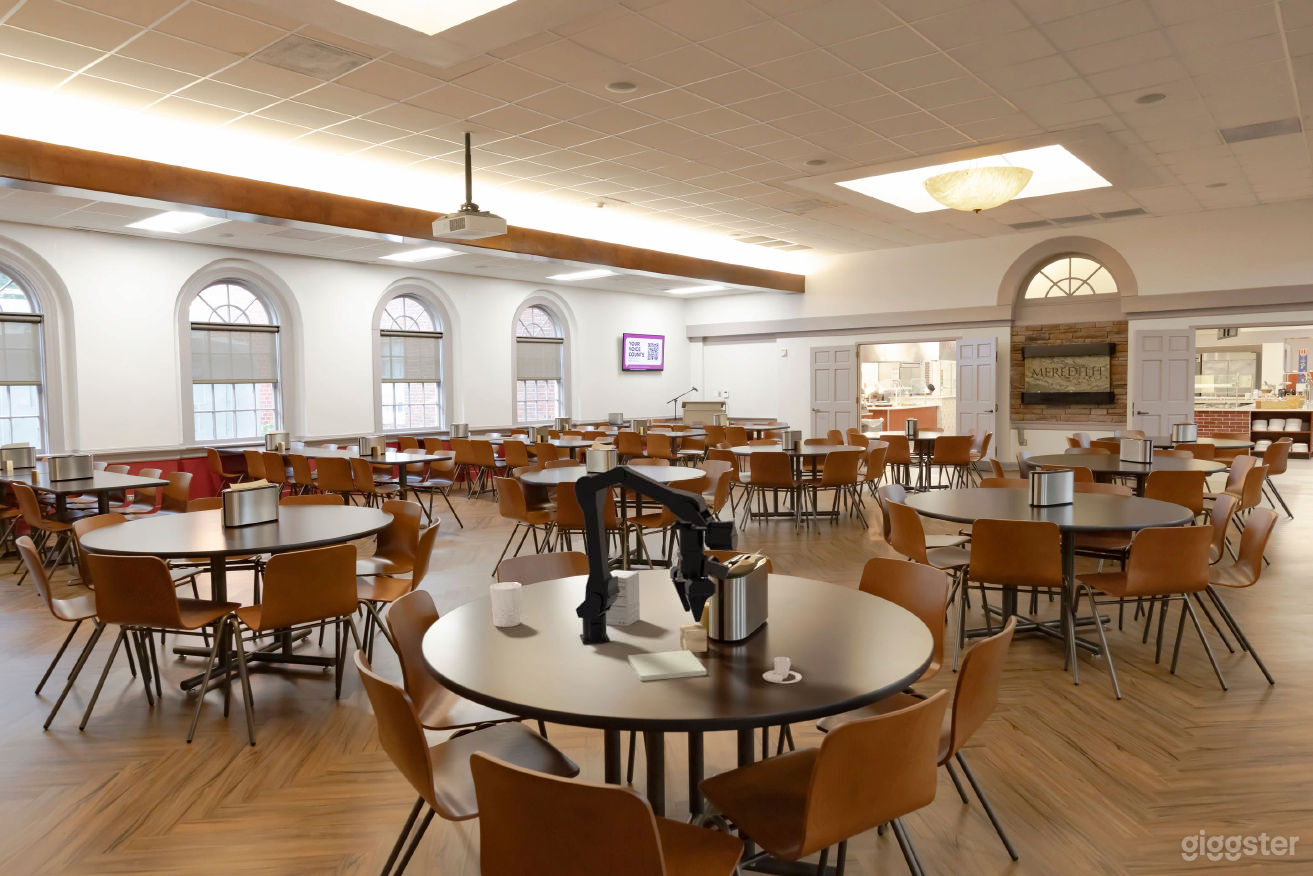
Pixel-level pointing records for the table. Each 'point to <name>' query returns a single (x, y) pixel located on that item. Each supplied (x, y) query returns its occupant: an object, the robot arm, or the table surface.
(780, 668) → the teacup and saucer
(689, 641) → the maple cube
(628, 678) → the table surface
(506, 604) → the white cup
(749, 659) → the table surface
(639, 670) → the sage board
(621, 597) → the supplement box
